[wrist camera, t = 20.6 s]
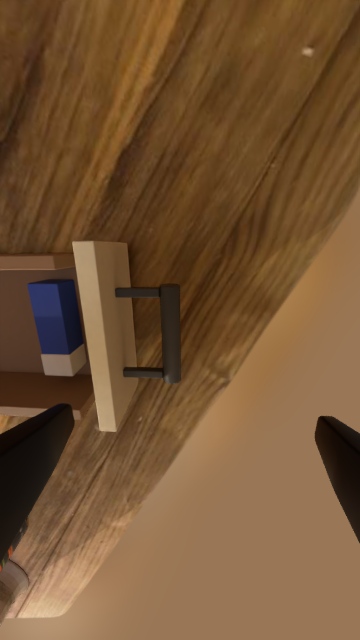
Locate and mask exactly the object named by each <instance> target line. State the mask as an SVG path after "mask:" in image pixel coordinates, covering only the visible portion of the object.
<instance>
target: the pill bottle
mask: <svg viewBox="0 0 360 640" xmlns="http://www.w3.org/2000/svg"><path fill="white" fill-rule="evenodd" d="M26 530H27V521H26V520H25V522H24V524H23V526H22V527H21V529H20V531H19V533H18V534H17V536H16V538H15V540H14V541H13V543H12V545H11V547H10V548H9V550H8V552H7V554H6V556H5V557H4V559H3V561H2V563H1V564H0V573H1V571H2V570H3V568H4V566H5V565H6V563H7V561H8V560H9V558H10V556H11V555H12V553H13V552H14V550H15V548H16V547H17V545H18V544H19V542H20V540H21V539H22V537H23V535H24V534H25V532H26Z"/></svg>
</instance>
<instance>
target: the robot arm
mask: <svg viewBox="0 0 360 640" xmlns="http://www.w3.org/2000/svg"><path fill="white" fill-rule="evenodd" d="M73 428H74V416H73V410H72V406H71V404H69V403H59V404H57V405H55V406H53V407H51V408H49V409H47V410H45V411H44V412H42V413H40V414H38V415H36V416H34V417H32V418H30V419H28V420H27V421H25V422H23V423H21V424H19V425H17V426H15V427H13V428H11V429H10V430H8V431H6V432H4V433H2V434H0V564H1V563H2V561H3V559H4V557H5V556H6V554H7V552H8V550H9V548H10V547H11V545H12V543H13V541H14V540H15V538H16V536H17V534H18V533H19V531H20V529H21V527H22V526H23V524H24V522H25V520H26V519H27V517H28V515H29V513H30V512H31V510H32V508H33V506H34V504H35V503H36V501H37V499H38V497H39V496H40V494H41V492H42V490H43V489H44V487H45V485H46V483H47V482H48V480H49V478H50V476H51V474H52V473H53V471H54V469H55V467H56V465H57V463H58V461H59V459H60V456H61V454H62V452H63V450H64V448H65V445H66V443H67V441H68V439H69V437H70V434H71V432H72V430H73ZM315 441H316V444H317V447H318V450H319V452H320V455H321V458H322V460H323V463H324V465H325V468H326V471H327V473H328V476H329V479H330V481H331V484H332V486H333V489H334V491H335V493H336V495H337V498H338V499H339V502H340V504H341V506H342V508H343V510H344V512H345V514H346V516H347V518H348V520H349V522H350V524H351V526H352V529H353V531H354V533H355V534H356V537H357V539H358V541H359V543H360V433H358V432H356V431H355V430H353V429H352V428H350V427H348V426H347V425H345V424H344V423H342V422H340V421H339V420H338V419H336V418H334V417H332V416H320V417H319V418H318V421H317V426H316V431H315Z"/></svg>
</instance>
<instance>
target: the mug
mask: <svg viewBox="0 0 360 640" xmlns="http://www.w3.org/2000/svg"><path fill="white" fill-rule="evenodd" d="M28 585H29V581H28V577H27V575H26V574H25V572H24V571H23V570H22V569H21V568H20V567H19V566H18V565H16V564H15V563H13V562H12V561H10V560H8V561H7V563H6V565H5V566H4V568H3V570H2V571H1V573H0V626H1V624H2V622H3V620H4V618H5V617H6V615H7V613H8V611H9V609H10V607H11V605H12V604H13V603H14V602H15V600H16V598H17V597H18V596H19V595H20V594H22V593H23V592H25V591H26V590H27V588H28Z"/></svg>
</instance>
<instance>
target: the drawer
mask: <svg viewBox="0 0 360 640" xmlns="http://www.w3.org/2000/svg"><path fill="white" fill-rule="evenodd" d="M72 244H73V251H74V253H38V254H0V415H11V416H29V417H34V416H36V415H38V414H40V413H42V412H44V411H45V410H47V409H49V408H51V407H53V406H55V405H57V404H59V403H69V404H71V406H72V410H73V416H74V419H82V418H83V416H84V415H85V414H86V412H87V411H88V409H89V408H90V406H91V405H92V403H93V402H94V401H95V400H96V407H97V414H98V420H99V427H100V431H113V432H116V431H117V429H118V427H119V425H120V423H121V420H122V418H123V416H124V414H125V412H126V410H127V407H128V405H129V403H130V401H131V399H132V397H133V394H134V392H135V390H136V388H137V386H138V378H163V380H164V381H165V382H166V383H168V384H176V383H178V382H179V381H180V380H181V341H180V285H178V284H162V285H160V287H131V284H130V271H129V259H128V246H127V243H122V242H106V241H73V242H72ZM47 279H73V280H74V284H75V291H76V297H77V304H78V310H79V317H80V324H81V330H82V337H83V343H84V347H85V354H86V360H87V362H86V364H85V365H84V366H83V367H82V368H81V369H80V370H79V371H78V372H77V373H76V374H75V375H74V376H53V375H45V372H44V368H43V363H42V359H41V354H42V352H41V347H40V342H39V338H38V333H37V329H36V324H35V319H34V315H33V310H32V305H31V301H30V296H29V291H28V287H27V284H28V283H32V282H37V281H42V280H47ZM159 297H160V306H161V331H162V356H163V368H151V367H137V361H136V348H135V335H134V322H133V310H132V298H159Z"/></svg>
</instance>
